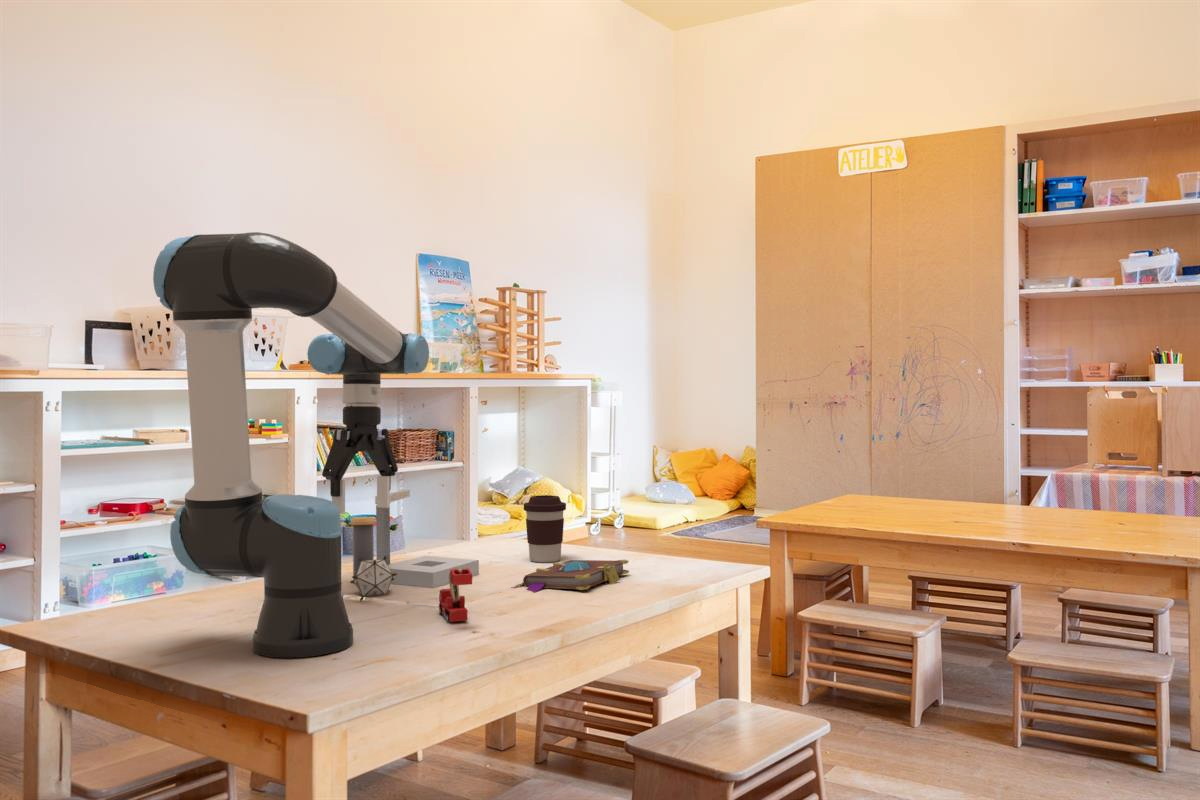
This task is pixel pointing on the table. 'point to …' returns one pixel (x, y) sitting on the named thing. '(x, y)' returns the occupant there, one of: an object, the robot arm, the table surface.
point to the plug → (362, 540)
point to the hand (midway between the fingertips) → (361, 510)
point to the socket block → (429, 570)
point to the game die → (373, 577)
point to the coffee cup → (544, 527)
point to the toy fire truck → (455, 596)
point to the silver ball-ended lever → (397, 495)
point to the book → (575, 574)
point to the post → (383, 533)
